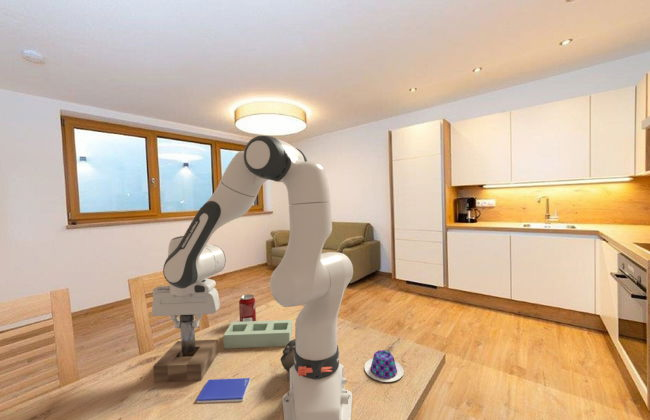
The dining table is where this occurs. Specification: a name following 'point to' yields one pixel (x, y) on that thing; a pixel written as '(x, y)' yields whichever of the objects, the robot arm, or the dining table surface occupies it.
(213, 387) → the blue book
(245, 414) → the dining table surface
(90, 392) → the dining table surface
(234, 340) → the tool rack
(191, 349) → the salt shaker
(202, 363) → the socket block
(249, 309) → the soda can
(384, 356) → the pudding
